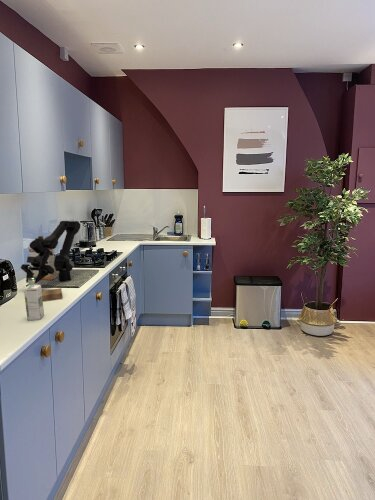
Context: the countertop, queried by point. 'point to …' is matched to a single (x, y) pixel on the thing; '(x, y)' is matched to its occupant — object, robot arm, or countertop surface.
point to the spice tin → (32, 280)
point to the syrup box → (34, 302)
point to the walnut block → (52, 294)
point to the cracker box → (50, 262)
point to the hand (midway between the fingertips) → (31, 282)
